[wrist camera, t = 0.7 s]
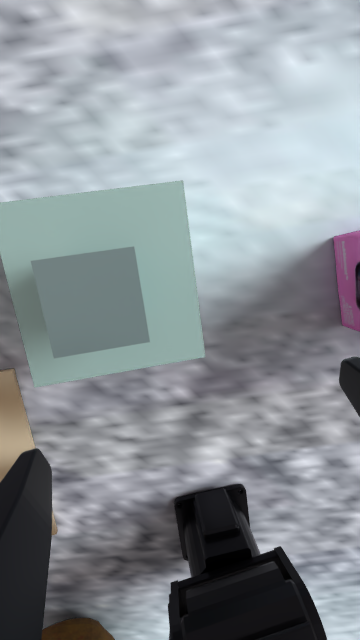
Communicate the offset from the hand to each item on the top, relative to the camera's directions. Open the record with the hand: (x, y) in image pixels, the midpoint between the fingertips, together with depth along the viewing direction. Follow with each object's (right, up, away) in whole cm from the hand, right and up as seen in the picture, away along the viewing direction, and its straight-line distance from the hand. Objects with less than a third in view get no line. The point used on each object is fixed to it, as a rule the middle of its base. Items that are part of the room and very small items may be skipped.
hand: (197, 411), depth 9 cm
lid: (-5, +5, +12) cm, 14 cm away
